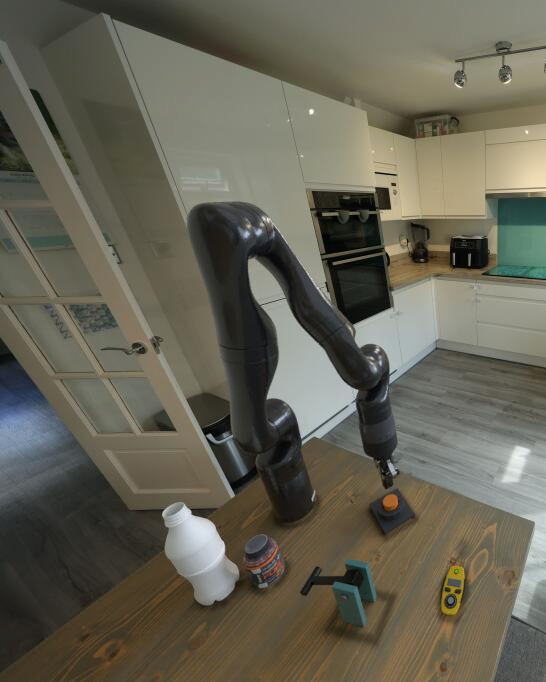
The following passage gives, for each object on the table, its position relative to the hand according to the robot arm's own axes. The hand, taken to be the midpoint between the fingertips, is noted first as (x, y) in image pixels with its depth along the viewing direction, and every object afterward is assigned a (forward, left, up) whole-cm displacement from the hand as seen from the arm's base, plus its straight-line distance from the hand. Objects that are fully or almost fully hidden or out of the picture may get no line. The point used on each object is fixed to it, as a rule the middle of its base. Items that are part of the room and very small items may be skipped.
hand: (388, 485), depth 77 cm
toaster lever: (+13, -17, -2) cm, 21 cm away
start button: (0, 0, -7) cm, 7 cm away
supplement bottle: (-3, -27, -11) cm, 29 cm away
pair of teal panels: (+16, -14, -11) cm, 24 cm away
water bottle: (-7, -36, -11) cm, 38 cm away
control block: (0, 0, -11) cm, 11 cm away
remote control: (+23, +4, -11) cm, 25 cm away
